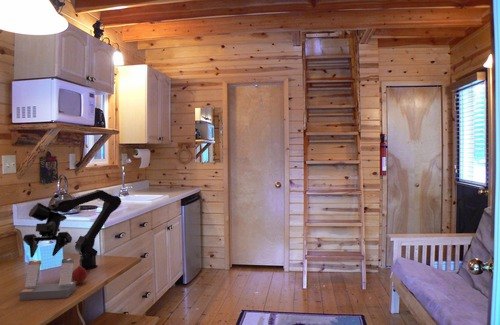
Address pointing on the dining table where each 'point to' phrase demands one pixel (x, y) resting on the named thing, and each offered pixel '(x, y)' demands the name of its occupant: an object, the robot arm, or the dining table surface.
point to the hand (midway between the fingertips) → (42, 256)
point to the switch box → (47, 291)
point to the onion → (79, 274)
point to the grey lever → (66, 271)
